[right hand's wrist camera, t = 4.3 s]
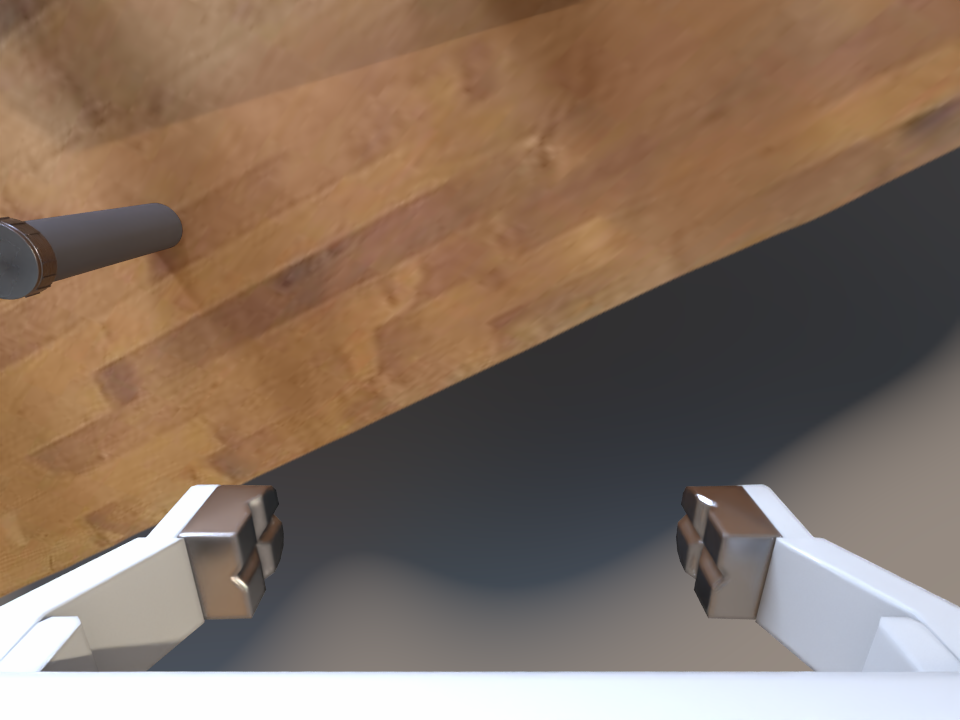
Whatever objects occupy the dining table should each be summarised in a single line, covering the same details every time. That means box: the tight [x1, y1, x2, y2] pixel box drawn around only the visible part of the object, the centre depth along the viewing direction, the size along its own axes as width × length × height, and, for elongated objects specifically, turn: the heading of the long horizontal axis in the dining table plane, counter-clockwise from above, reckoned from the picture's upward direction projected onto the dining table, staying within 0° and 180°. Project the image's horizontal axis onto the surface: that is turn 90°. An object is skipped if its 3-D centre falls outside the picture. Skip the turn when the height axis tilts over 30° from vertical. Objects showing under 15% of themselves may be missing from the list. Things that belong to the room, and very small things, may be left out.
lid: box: [0, 217, 57, 299], centre depth 38 cm, size 6×6×2 cm
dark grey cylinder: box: [25, 203, 182, 282], centre depth 46 cm, size 5×5×20 cm
